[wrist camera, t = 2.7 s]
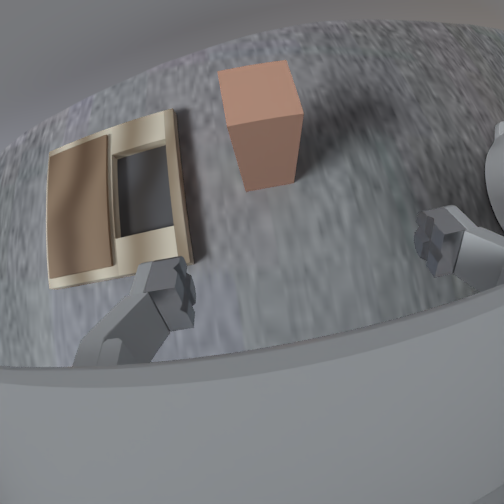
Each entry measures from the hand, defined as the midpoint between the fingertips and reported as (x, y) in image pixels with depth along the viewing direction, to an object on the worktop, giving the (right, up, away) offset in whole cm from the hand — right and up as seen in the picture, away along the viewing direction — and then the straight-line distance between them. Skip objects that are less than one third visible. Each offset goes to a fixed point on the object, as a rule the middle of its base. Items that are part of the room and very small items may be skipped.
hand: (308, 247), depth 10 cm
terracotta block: (-1, +8, +19) cm, 21 cm away
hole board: (-16, +5, +20) cm, 26 cm away
